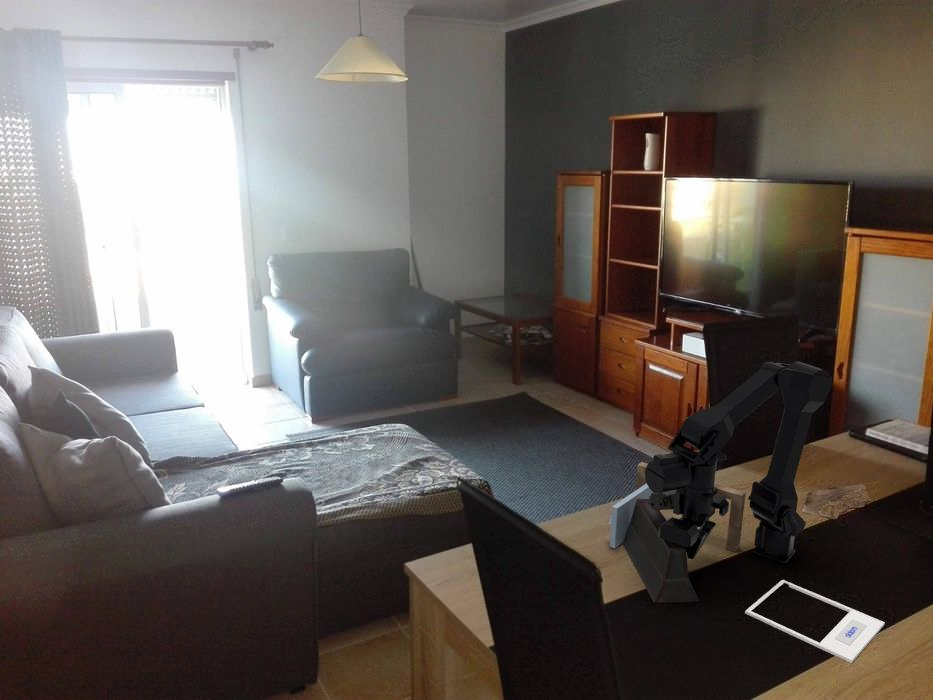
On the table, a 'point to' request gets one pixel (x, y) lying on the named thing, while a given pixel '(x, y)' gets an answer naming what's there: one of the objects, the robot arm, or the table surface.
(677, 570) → the barrier
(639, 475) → the door frame
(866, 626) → the photo frame
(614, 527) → the door
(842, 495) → the wooden fragment
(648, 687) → the table surface
